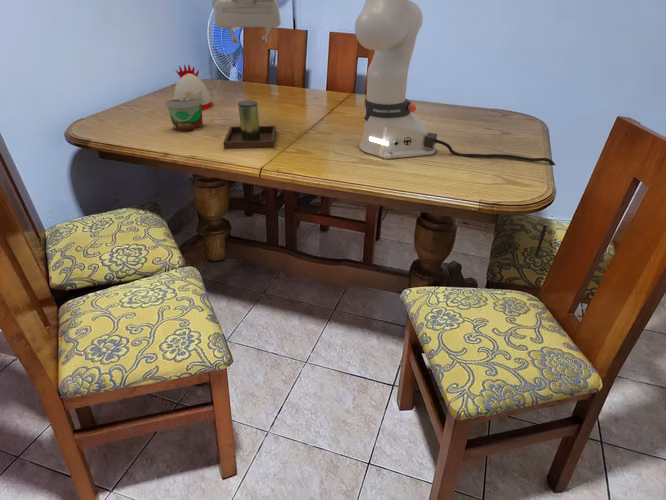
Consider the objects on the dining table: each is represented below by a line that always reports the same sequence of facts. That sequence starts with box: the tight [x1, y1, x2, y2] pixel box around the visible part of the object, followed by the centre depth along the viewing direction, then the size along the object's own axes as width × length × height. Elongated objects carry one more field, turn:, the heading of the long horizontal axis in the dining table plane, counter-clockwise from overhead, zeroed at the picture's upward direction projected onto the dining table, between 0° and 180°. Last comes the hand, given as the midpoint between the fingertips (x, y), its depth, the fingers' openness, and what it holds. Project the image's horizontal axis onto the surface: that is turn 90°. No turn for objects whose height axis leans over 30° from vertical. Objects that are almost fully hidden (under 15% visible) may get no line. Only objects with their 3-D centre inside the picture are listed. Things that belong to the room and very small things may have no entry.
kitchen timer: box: [173, 63, 213, 111], centre depth 172 cm, size 14×14×15 cm
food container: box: [164, 96, 204, 133], centre depth 150 cm, size 12×6×10 cm, turn 105°
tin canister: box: [237, 99, 261, 141], centre depth 140 cm, size 6×6×11 cm
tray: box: [223, 125, 277, 150], centre depth 143 cm, size 15×15×2 cm
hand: (250, 42), depth 147 cm, fingers open, 8 cm apart
